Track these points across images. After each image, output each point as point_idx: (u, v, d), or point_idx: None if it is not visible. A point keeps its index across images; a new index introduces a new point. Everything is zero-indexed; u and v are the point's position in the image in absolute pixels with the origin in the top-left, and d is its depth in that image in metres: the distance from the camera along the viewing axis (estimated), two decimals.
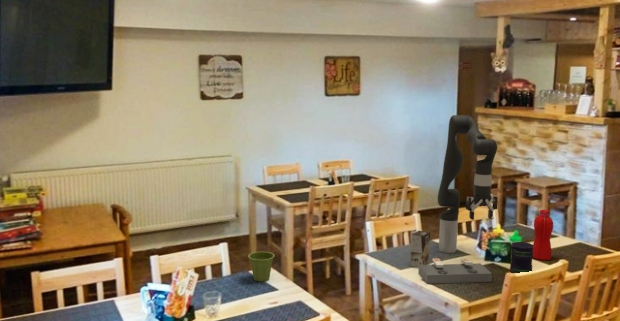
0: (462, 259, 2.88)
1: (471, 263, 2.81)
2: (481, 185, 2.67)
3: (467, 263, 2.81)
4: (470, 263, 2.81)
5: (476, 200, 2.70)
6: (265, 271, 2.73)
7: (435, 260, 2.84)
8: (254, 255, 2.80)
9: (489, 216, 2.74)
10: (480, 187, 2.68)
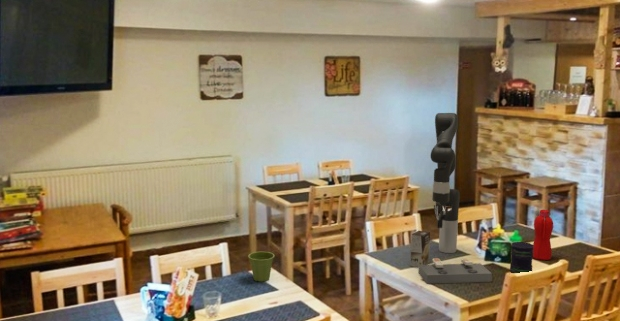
0: (462, 259, 2.88)
1: (471, 263, 2.81)
2: (449, 192, 2.76)
3: (467, 263, 2.81)
4: (470, 263, 2.81)
5: None
6: (266, 271, 2.73)
7: (435, 260, 2.84)
8: (254, 254, 2.80)
9: None
10: (448, 193, 2.76)
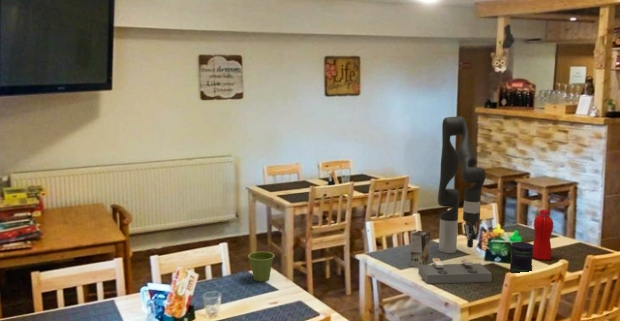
0: (462, 259, 2.88)
1: (471, 263, 2.81)
2: (479, 211, 2.76)
3: (467, 263, 2.81)
4: (470, 263, 2.81)
5: None
6: (266, 271, 2.73)
7: (435, 260, 2.84)
8: (254, 255, 2.80)
9: None
10: (479, 213, 2.75)
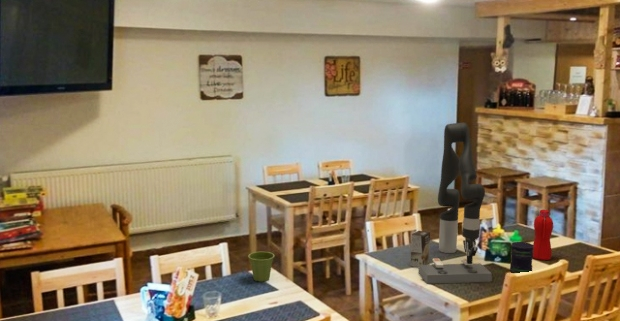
0: (462, 259, 2.88)
1: None
2: (479, 228, 2.77)
3: (467, 263, 2.81)
4: None
5: None
6: (266, 271, 2.73)
7: (435, 260, 2.84)
8: (254, 254, 2.80)
9: None
10: (479, 230, 2.77)
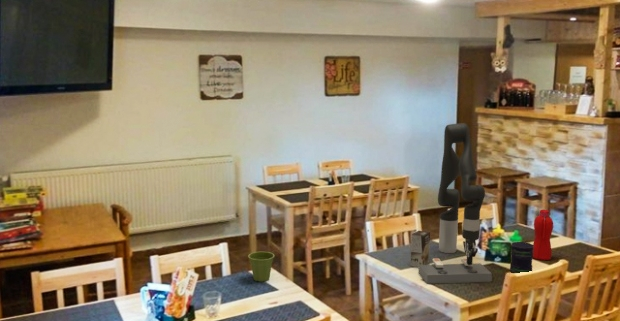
0: None
1: None
2: (479, 229, 2.77)
3: (467, 264, 2.81)
4: None
5: None
6: (266, 271, 2.73)
7: (435, 260, 2.84)
8: (254, 255, 2.80)
9: None
10: (479, 231, 2.77)
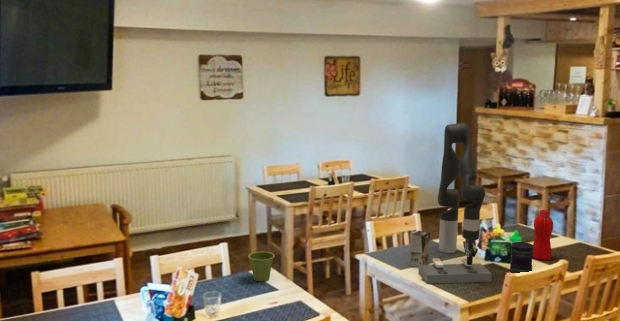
0: (462, 258, 2.88)
1: None
2: (479, 229, 2.77)
3: (467, 264, 2.81)
4: None
5: None
6: (266, 271, 2.73)
7: (435, 260, 2.84)
8: (254, 254, 2.80)
9: None
10: (479, 231, 2.77)
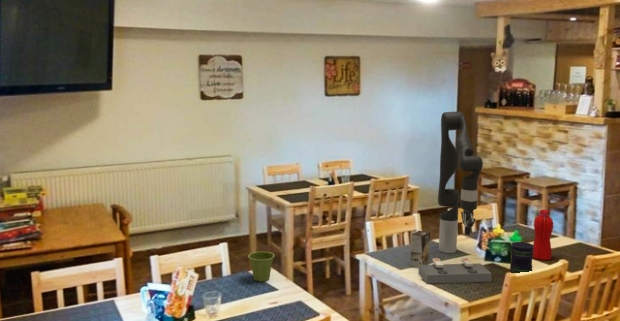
0: (462, 258, 2.88)
1: (471, 264, 2.81)
2: None
3: (467, 264, 2.81)
4: (470, 264, 2.81)
5: None
6: (266, 271, 2.73)
7: (435, 260, 2.84)
8: (254, 255, 2.80)
9: None
10: (476, 201, 2.80)
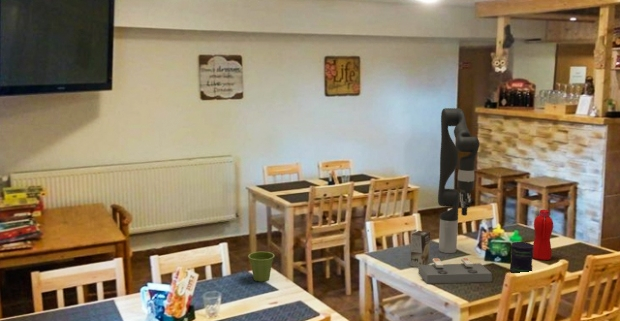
0: (462, 258, 2.88)
1: (471, 265, 2.81)
2: (473, 180, 2.83)
3: (467, 265, 2.81)
4: (470, 264, 2.81)
5: None
6: (266, 271, 2.73)
7: (435, 260, 2.84)
8: (254, 255, 2.80)
9: None
10: (473, 181, 2.83)
